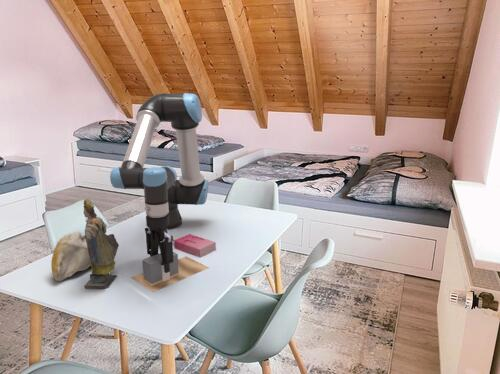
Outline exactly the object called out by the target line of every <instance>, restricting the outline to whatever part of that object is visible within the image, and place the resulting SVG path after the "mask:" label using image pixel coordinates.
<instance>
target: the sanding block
mask: <svg viewBox="0 0 500 374" xmlns="http://www.w3.org/2000/svg"><path fill="white" fill-rule="evenodd" d="M158 253H159V252H158ZM178 255H179V254H178V253H176V252H174V251H173V260H174V262H173V263H170V264H169V265H170V278H172V277H175V276H177V275H179V270H178V259H179V256H178ZM141 262H142V273H143V277H144V281H145V282H146V283H148V284H149V285H151V286H153V285H156V284H158V283H160V282H163V281H162V271H161V263H162V258H161V253H159V254H157V255H154V256H151V257H150V256H149V257H146V258H143V259H141Z"/></svg>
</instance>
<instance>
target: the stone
mask: <svg viewBox="0 0 500 374" xmlns="http://www.w3.org/2000/svg"><path fill="white" fill-rule="evenodd" d="M82 236H83V235H82V233H81V231H74V232H73V233H69V234H65V235H64V236H62V237H61V238H60V239H59V240H58V241H57V244H56V245H55V247H54V250H53V251H52V256H51V260H50V261H51V262H50V263H51V264H50V265H51V276H52V278H53V279H54V281H56V282H57V281H58V282H62V281H63V280H65V279H67V278H70V277H72V276H73V275H74V274H76V273H77V272H80V271H81V272H82V271H85V270H87V269H88V268H89V267H91V260H90V256H89V253H88V248H87V243H86V239H84V240H83V241H82V240H81V239H80V237H82Z"/></svg>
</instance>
